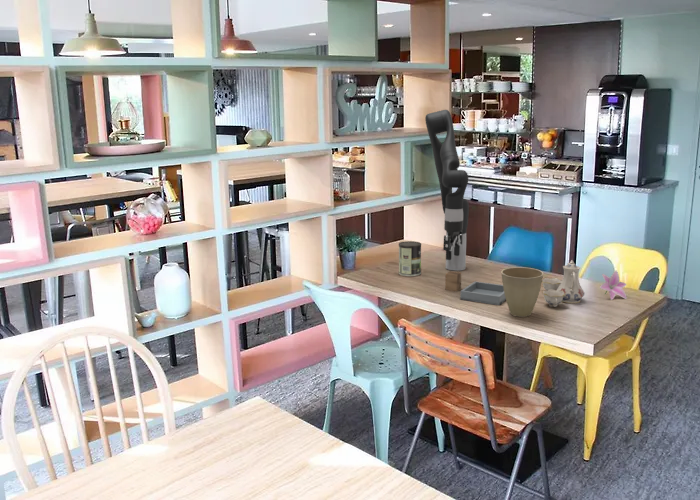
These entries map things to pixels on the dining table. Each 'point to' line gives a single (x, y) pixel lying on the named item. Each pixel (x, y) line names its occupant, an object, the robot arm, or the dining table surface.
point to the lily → (613, 285)
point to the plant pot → (521, 289)
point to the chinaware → (563, 287)
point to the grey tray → (484, 293)
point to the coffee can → (409, 258)
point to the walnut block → (453, 281)
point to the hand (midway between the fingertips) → (452, 257)
